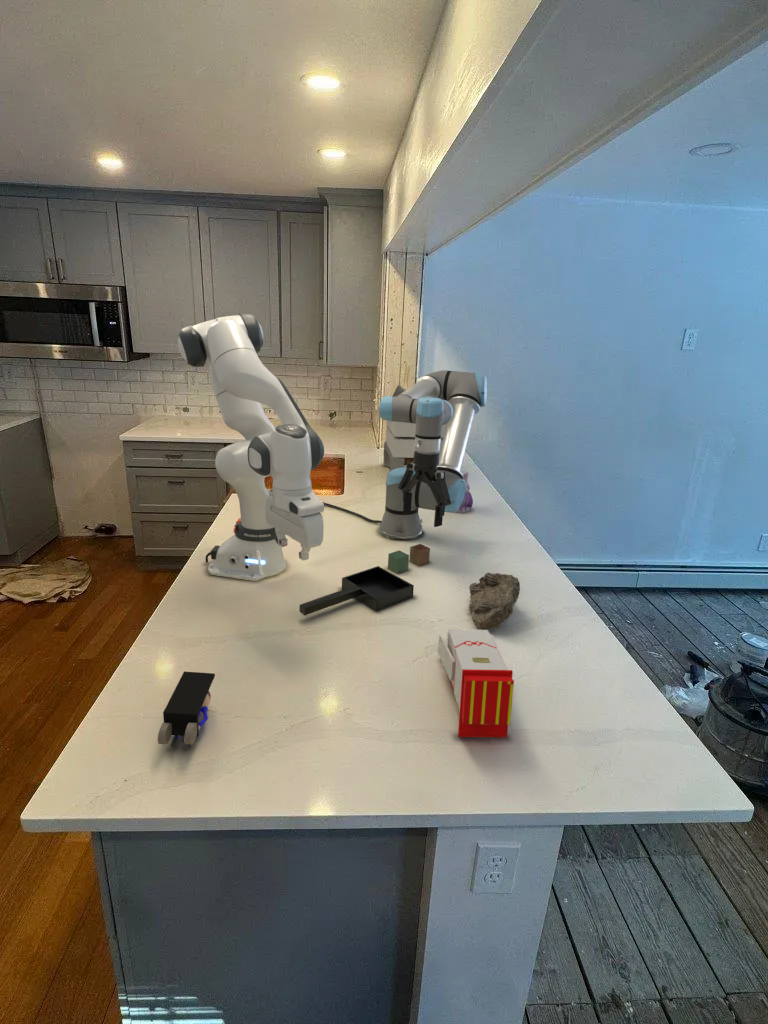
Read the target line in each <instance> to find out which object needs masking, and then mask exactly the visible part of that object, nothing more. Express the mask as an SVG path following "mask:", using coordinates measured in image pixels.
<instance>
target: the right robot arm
mask: <svg viewBox="0 0 768 1024" xmlns="http://www.w3.org/2000/svg"><path fill="white" fill-rule="evenodd" d="M487 381H488V380H487V376H486V375H485V374H484V373H481V372H480V373H479V372H475V371H474V372H469V371H458V370H448V369H445V370H444V369H443V370H437V371H433V372H430V373H427V374H424V375H423V376H421V377H419V378H418V379H417V380H416V381H415V383H414V385H412V386H410V387H409V388H407V389H405V390H406V391H404V392H403V393H401V394H400V395H398V396H396V397H393V395H384V396H383V397H382V398H381V399H380V402H379V405H378V410H379V411H378V414H379V417H380V419H381V420H383V421H386V420H388V421H395V422H405V423H414V424H416V432H415V447H414V449H415V450H416V451H415V452H414V461H413V462H412V463H408V464H407V465H406V466H404V467H402V468H397V469H393V470H391V471H390V470H389V472H388V473H387V475H386V482H385V504H384V505H385V507H384V508H385V509H384V513H383V515H382V519H381V520H379V519H378V520H377V519H376V520H375V519H372V518H368V517H366V516H365V515H362V514H360V513H358V512H355V511H352V510H349V509H346V508H344V507H340V506H337V505H334V504H330V503H327V502H324V501H322V502H323V504H324V506H327V507H330V508H333V509H336V510H337V509H338V510H339V511H342V512H345V513H348V514H351V515H354V516H356V517H359V518H361V519H362V520H363V519H364V520H365V521H367V522H370V523H373V524H379V526H378V533H379V534H380V535H381V536H382V537H385V538H387V539H389V540H395V541H410V540H415V539H418V538H420V537H421V536H422V535H423V525H422V523H423V519H422V518H420V515H419V509H424V510H430V511H434V519H433V528H438V527H442V526H443V519H444V516H445V514H446V513H450V514H453V513H457V512H456V511H457V510H458V509H459V508H460V506H461V504H462V501H463V498H464V495H465V490H466V482H465V480H463V476H464V474H463V473H462V465H463V462H464V458H465V454H466V453H465V452H466V449H467V444H468V441H469V437H470V433H471V428H472V424H473V420H474V416H475V415H477V414H478V413H479V412H480V409H481V408H483V407H486V405H487V398H488V396H487V395H488V382H487ZM446 423H447V425H446V428H445V432H444V436H443V440H442V444H441V448H440V442H441V429H442V425H444V424H446ZM439 451H440V452H439ZM438 452H439V453H438ZM460 470H461V472H460Z"/></svg>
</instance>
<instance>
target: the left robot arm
mask: <svg viewBox="0 0 768 1024" xmlns="http://www.w3.org/2000/svg"><path fill="white" fill-rule="evenodd" d="M177 336H178V338H177V347H178V351H179V353H180V355H181V357H182V358H183V360H184V361H185V362H186V363H187V364H188V365H189V366H191V367H192V368H202V367H205V366H209V368H208V370H209V376H210V381H211V387H212V389H213V393H214V396H215V399H216V402H217V405H218V408H219V411H220V414H221V417H222V419H223V422H224V424H225V425H226V427H228V428H229V429H231V430H233V431H236V432H237V433H239V434H240V435H242V437H243V438H244V439H245V440H243V441H237V442H234V443H230V444H229V445H226V446H225V447H223V448H220V449H219V450H218V451H217V453H216V456H215V459H214V460H215V461H214V466H215V470H216V472H217V474H218V476H219V478H221V479H222V481H224V482H225V483H227V484H229V485H230V486H231V487H232V488H233V489H234V491H235V493H236V495H237V498H238V503H239V513H240V517H239V518H238V519H237V520H236V521H235V524H234V527H233V534H232V536H230V537H229V538H227V539H226V540H224V541H223V542H222V543H221V544H220V545H214V547H212V549H211V550H210V551H209V552H208V553H206V555H205V558H204V559H205V563H206V564H208V563H209V564H208V567H207V572H208V574H209V575H211V576H218V577H225V578H230V579H231V578H232V579H239V580H245V581H252V582H258V581H260V580H263V579H264V578H267V577H272V576H275V575H278V574H281V573H282V572H283V571H285V570H286V568H287V563H286V561H285V556H284V553H283V548H284V547H287V546H288V545H289V544H288V543H289V542H288V541H289V540H288V538H287V536H288V537H289V538H290V539H292V540H294V541H296V542H297V543H299V544H300V547H301V550H300V551H298V558H299V559H300V560H301V561H307V560H309V556H310V551H311V549H314V548H316V547H320V546H321V545H322V544H323V542H324V517H323V514H322V513H323V512H324V511H325V505H324V504H323V502H324V501H322V500H321V499H320V497H318V495H317V494H316V493H315V491H314V490H313V488H312V479H311V472H313V471H315V470H316V469H317V468H318V467H319V465H320V464H321V462H322V460H323V458H324V457H325V446H324V443H323V440H322V439H321V438H320V436H319V434H318V433H317V432H316V431H315V430H314V428H312V425H310V424H309V422H308V421H307V418H306V417H305V415H304V414H303V412H302V411H301V409H300V407H299V405H298V404H297V402H296V400H295V399H294V397H293V396H292V393H290V390H289V389H288V388H287V386H286V385H285V384H284V382H283V380H281V379H280V378H279V376H276V375H275V374H273V373H272V372H271V371H270V370H269V369H268V368H267V367H266V366H265V364H264V363H263V362H262V361H261V359H260V358H259V356H258V353H260V352H261V349H262V347H263V346H264V331H263V328H262V326H261V324H260V323H259V320H258V319H257V318H256V316H254V315H253V314H251V313H239V314H235V315H225V316H220V317H215V318H213V319H209V320H205V321H202V322H200V323H196V324H194V325H192V324H190V325H187V326H185V327H183V328H181V329H180V331H179V333H178V334H177ZM262 405H265V406H267V407H269V408H270V409H271V410H273V411H274V413H275V414H276V415H277V417H278V419H279V420H280V422H281V423H282V424H278V425H276V426H274V424H273V423H272V422H271V421H270V419H269V418H268V416H267V415H266V412H265V411H264V408H263V406H262ZM267 477H271V478H272V484H271V485H272V488H270V489H268V488H267V487H266V483H265V478H267ZM209 556H210V559H211V561H210V562H209Z"/></svg>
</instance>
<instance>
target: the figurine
mask: <svg viewBox="0 0 768 1024" xmlns="http://www.w3.org/2000/svg"><path fill="white" fill-rule="evenodd" d="M468 479H469V473H468V472H465V473H464V474H463V480H465V482H466V490H465V495H464V498H463V501H462V504H461V506H460V508H459V509H458V510H457V511H456V512H455V513H462V514H463V513H468V512H470V511H471V510H472V509H473V505H474V499H473V496H472V494H471V492H470V489H471V487H470V484H469V482H468Z"/></svg>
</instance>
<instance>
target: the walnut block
mask: <svg viewBox="0 0 768 1024" xmlns="http://www.w3.org/2000/svg"><path fill="white" fill-rule="evenodd" d="M430 552H431V548H430V547H429V546H426V545H424V544H423V543H419V544H416V545H411V546H410V548H409V562H410V563H412V564H414V565H415V566H417V567H420V566H423V565H427V564H429V563H430V554H431V553H430Z"/></svg>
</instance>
